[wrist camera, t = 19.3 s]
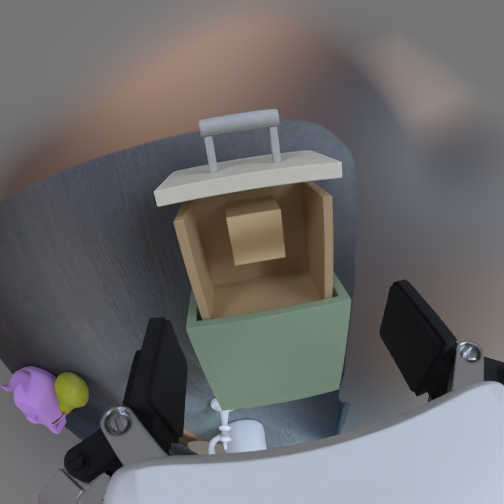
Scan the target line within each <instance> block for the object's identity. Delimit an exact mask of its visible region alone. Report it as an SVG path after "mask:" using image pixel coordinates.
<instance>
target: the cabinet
mask: <svg viewBox="0 0 504 504" xmlns="http://www.w3.org/2000/svg"><path fill="white" fill-rule="evenodd" d="M350 307H351V298H350V297H349V295H348V294H347V292H346V290H345V289H344V287H343V286H342V284H341V283H340V281H339V280H338V278H337V276H336V275H335V273H334V272H333V294H332V298H328V299H323V300H318V301H314V302H309V303H304V304H299V305H294V306H288V307H283V308H278V309H272V310H266V311H261V312H255V313H249V314H243V315H236V316H230V317H223V318H217V319H210V320H202V317H201V314H200V311H199V308H198V305H197V302H196V299H195V296H194V293H193V290H192V289H191V296H190V302H189V309H188V316H187V323H186V331H187V334H188V336H189V339H190V341H191V343H192V346H193V348H194V351H195V353H196V355H197V358H198V360H199V362H200V365H201V367H202V369H203V371H204V374H205V376H206V378H207V380H208V382H209V385H210V387H211V389H212V391H213V393H214V395H215V397H216V399H217V402H218V404H219V406H220V408H221V410H222V411H225V410H234V409H243V408H250V407H257V406H264V405H270V404H276V403H281V402H287V401H292V400H297V399H301V398H306V397H310V396H315V395H319V394H323V393H327V392H331V391H334V390H338V389H339V386H340V380H341V375H342V369H343V362H344V356H345V349H346V342H347V334H348V326H349V317H350Z"/></svg>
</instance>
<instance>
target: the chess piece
mask: <svg viewBox="0 0 504 504" xmlns="http://www.w3.org/2000/svg"><path fill="white" fill-rule="evenodd" d="M211 407H212V409H214V410H215V411H218V412H220V416H221V422H222V426H220V427H219V430H220V431H222V433H221V436H220V441H222V442H224V443H223V445H224V449H225V450H228V445H227V442H229V441H231V440H232V439H231V437H230V434H229V432H228V431H230V430H231V427H230V426H228V414H229V412H230V411H233V410H225V411H222V410H221V408H220V406H219V404H218V402H217V399H216V398H214V399H213V400H211Z"/></svg>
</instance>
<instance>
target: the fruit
mask: <svg viewBox="0 0 504 504" xmlns="http://www.w3.org/2000/svg"><path fill="white" fill-rule="evenodd" d="M54 388H55V393H56V395H57V398H58V407H59V410H60V412H61V413H62V415H61V417H62V416H63V414H68V413H70V411H71V410H72V409H74V408H77V407H82V406H84V405H85V404H86V403H87V401H88V395H89V392H88V387H87V385H86V383H85V381H84V380H83V379H82V378H81V377H80V376H79V375H77V374H75V373H71V372H65V373H62V374H60V375H59V376H58V377H57V379H56V381H55V385H54ZM61 417H60V418H61ZM60 418H59V419H60ZM59 419H57V420H56V421H55V422H53V423H52V424H54V423H56V422H57V421H58V420H59Z"/></svg>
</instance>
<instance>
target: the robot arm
mask: <svg viewBox="0 0 504 504" xmlns="http://www.w3.org/2000/svg"><path fill="white" fill-rule="evenodd" d="M380 336H381V338H382V340H383V342H384V344H385V345H386V347H387V349H388V350H389V352H390V354H391V356H392V357H393V359H394V361H395V363H396V364H397V366H398V368H399V370H400V371H401V373H402V375H403V377H404V379H405V381H406V382H407V384H408V386H409V388H410V390H411V391H413V392H415V394H416V395H417V396H419V395H422V394H424V393H426V392H428V394H429V398H428V402H427V403H425V404H423V405H421V406H418V407H416V408H414V409H412V410H409V411H407V412H405V413H402V414H399V415H397V416H394V417H392V418H389V419H386V420H384V421H381V422H378V423H375V424H372V425H369V426H366V427H363V428H360V429H357V430H354V431H350V432H347V433H343V434H339V435H336V436H332V437H328V438H324V439H320V440H315V441H311V442H306V443H301V444H296V445H291V446H285V447H279V448H272V449H265V450H257V451H248V452H238V453H226V454H209V455H182V456H173V455H172V453H171V452H170V451H169V450H170V449H171V443H179V437H182V436H183V429H184V411H185V396H186V382H187V370H188V368H187V362H186V360H185V357H184V355H183V353H182V350H181V348H180V345H179V343H178V340H177V338H176V335H175V333H174V330H173V328H172V325H171V323H170V321H169V320H167V321H166V319H165V318H164V317H160V318H151V319H150V320H149V323H148V327H147V330H146V334H145V338H144V341H143V345H142V349H141V350H138V351H137V352H136V353H135V356H134V360H133V363H132V367H131V371H130V375H129V379H128V383H127V387H126V391H125V396H124V400H123V404H122V405H117V406H113V407H111V408H109V409H108V410H106V411H105V412H104V414H103V415H102V418H101V429H99V430H98V431H96V432H95V433H93V434H92V435H90V436H89V437H88V438H86V439H85V440H83V441H82V442H80V443H79V444H77V445H76V446H74V447H73V448H71V449H70V450H69V451H68V452H67V453H66V455H65V458H64V466H65V467H64V469H63V470H62V469H59V470H58V471H57V473H56V474H55V475H54V476H53V478H52V479H51V480H50V482H49V483H48V484H47V485H46V487H45V488H44V489H43V490H42V492H41V493H40V495H39V497H38V503H39V504H100V503H101V502H102V501H103V499H102V497H103V496H104V494H105V493H106V494H105V500H104V504H504V362H500V361H497V360H494V359H490V358H487V357H484V354H483V350H482V348H481V347H480V346H479V345H478V344H477V343H476V342H474V341H471V340H464V341H461V342H460V343H459V344H457V343H456V340H457V339H456V338H455V336H454V335H453V334H452V332H451V331H450V330H449V329H448V328H447V326H446V325H445V324H444V322H443V321H442V320H441V319H440V317H439V316H438V315H437V314H436V313H435V311H434V310H433V309H432V308H431V307H430V306H429V304H428V303H427V302H426V301H425V300H424V299H423V297H422V296H421V295H420V294H419V293H418V292H417V291H416V290H415V288H414V287H413V286H412V285H411V284H410V283H409V282H408V281H407V280H401V281H397V282H394V283H393V285H392V286H391V287H390V290H389V294H388V299H387V303H386V307H385V311H384V316H383V319H382V323H381V327H380Z"/></svg>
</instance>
